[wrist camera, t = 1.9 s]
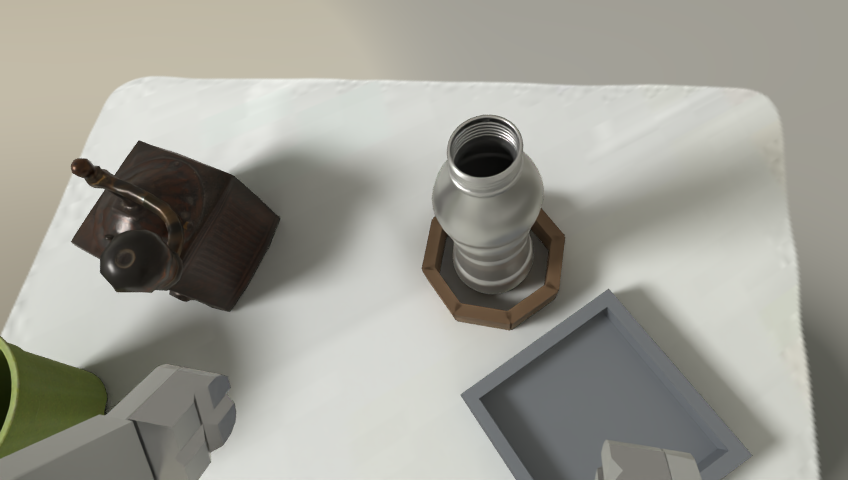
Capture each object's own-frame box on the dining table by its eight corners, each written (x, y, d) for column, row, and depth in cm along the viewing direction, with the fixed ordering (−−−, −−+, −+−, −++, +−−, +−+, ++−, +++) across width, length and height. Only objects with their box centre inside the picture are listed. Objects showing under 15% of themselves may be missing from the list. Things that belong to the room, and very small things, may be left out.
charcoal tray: (734, 452, 34) (752, 455, 32) (578, 570, 33) (584, 583, 31) (602, 296, 39) (608, 288, 37) (463, 395, 38) (460, 394, 36)
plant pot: (95, 503, 40) (-50, 537, 30) (-9, 457, 43) (-174, 473, 32) (156, 364, 43) (45, 350, 33) (56, 329, 46) (-75, 307, 36)
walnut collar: (586, 276, 40) (592, 267, 37) (478, 353, 39) (476, 348, 36) (506, 183, 44) (506, 167, 41) (407, 250, 43) (400, 239, 40)
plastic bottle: (548, 269, 41) (586, 153, 22) (483, 315, 40) (466, 236, 22) (502, 214, 43) (501, 66, 24) (440, 257, 42) (391, 139, 24)
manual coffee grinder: (143, 281, 47) (-61, 210, 30) (200, 184, 49) (44, 68, 32) (273, 343, 42) (122, 301, 26) (329, 233, 45) (225, 130, 28)
